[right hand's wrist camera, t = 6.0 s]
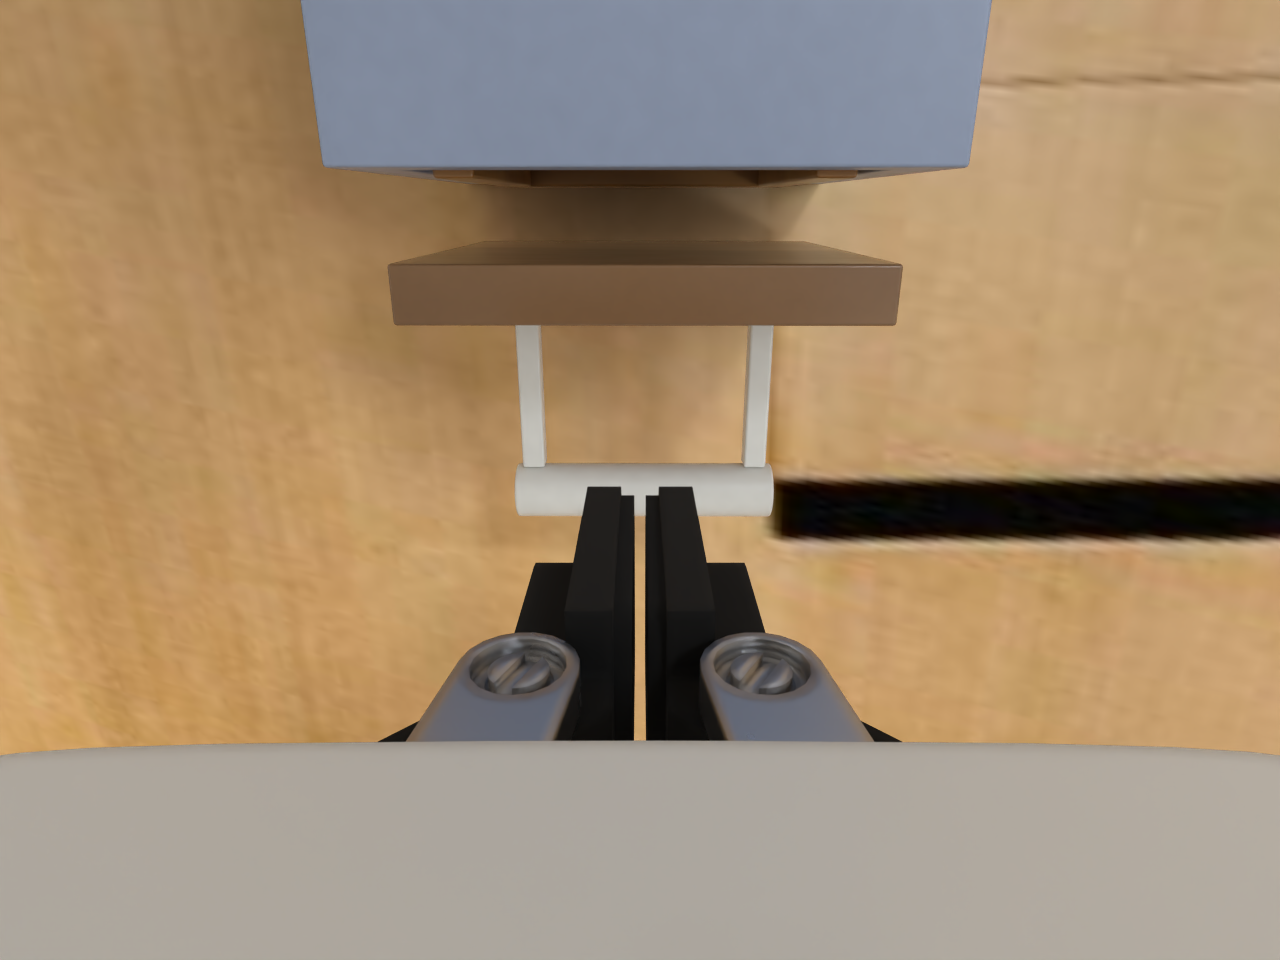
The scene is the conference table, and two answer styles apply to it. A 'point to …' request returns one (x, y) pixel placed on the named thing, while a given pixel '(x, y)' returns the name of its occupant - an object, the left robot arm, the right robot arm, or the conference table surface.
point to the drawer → (645, 319)
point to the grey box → (645, 84)
